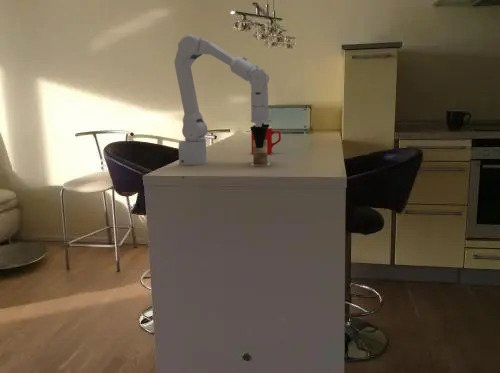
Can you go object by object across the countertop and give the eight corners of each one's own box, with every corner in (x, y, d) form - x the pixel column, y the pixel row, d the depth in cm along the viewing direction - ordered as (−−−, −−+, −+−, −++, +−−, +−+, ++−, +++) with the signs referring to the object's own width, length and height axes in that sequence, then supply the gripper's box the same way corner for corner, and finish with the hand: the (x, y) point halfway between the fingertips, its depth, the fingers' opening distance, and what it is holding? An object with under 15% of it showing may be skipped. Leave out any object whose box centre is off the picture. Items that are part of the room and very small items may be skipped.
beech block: (253, 153, 164) (252, 141, 163) (254, 151, 168) (254, 139, 168) (266, 153, 163) (266, 141, 163) (267, 151, 168) (267, 139, 167)
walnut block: (253, 164, 165) (253, 153, 164) (254, 162, 169) (254, 151, 168) (266, 164, 164) (266, 153, 164) (267, 162, 169) (267, 151, 168)
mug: (250, 154, 198) (250, 128, 196) (253, 152, 206) (253, 127, 204) (279, 154, 196) (279, 128, 194) (281, 152, 204) (281, 126, 202)
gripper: (270, 106, 155) (271, 149, 158) (272, 105, 170) (273, 144, 172) (248, 107, 156) (249, 149, 159) (252, 105, 170) (253, 144, 173)
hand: (260, 146), depth 166 cm, fingers open, 7 cm apart
